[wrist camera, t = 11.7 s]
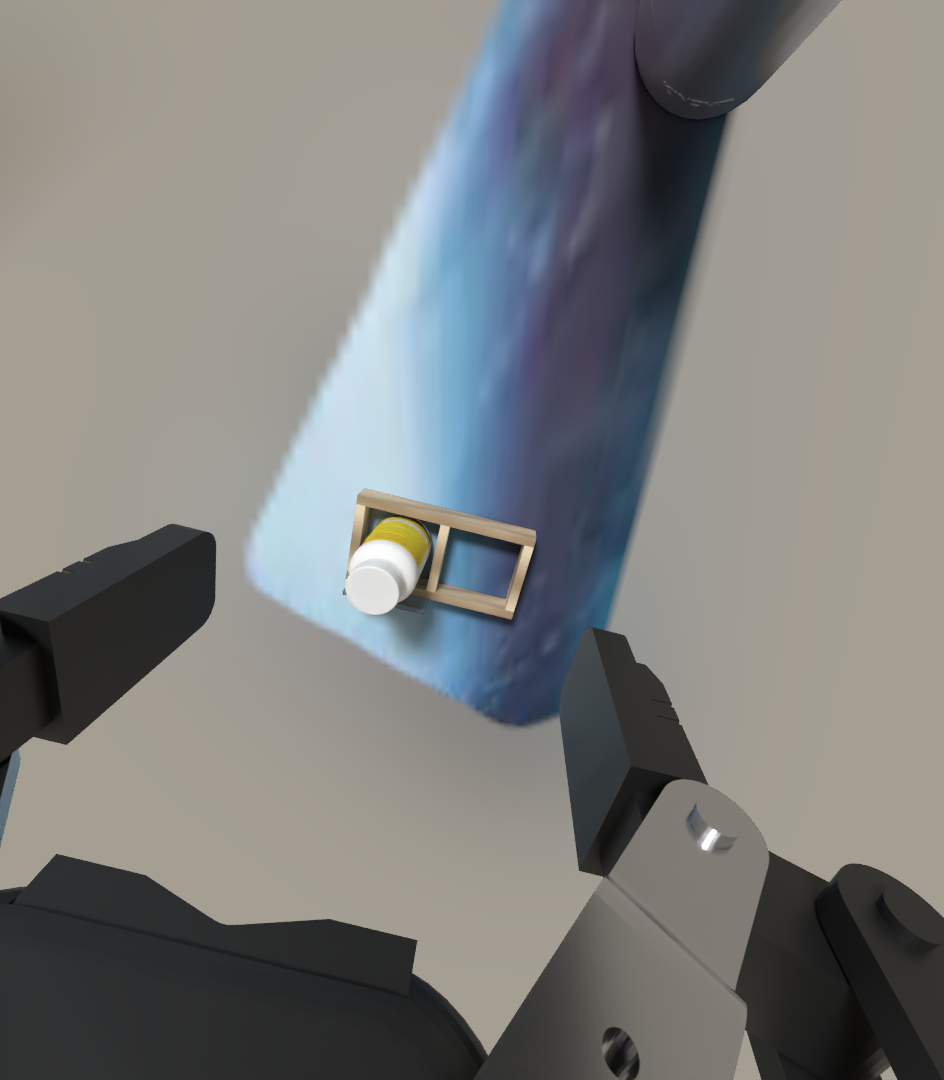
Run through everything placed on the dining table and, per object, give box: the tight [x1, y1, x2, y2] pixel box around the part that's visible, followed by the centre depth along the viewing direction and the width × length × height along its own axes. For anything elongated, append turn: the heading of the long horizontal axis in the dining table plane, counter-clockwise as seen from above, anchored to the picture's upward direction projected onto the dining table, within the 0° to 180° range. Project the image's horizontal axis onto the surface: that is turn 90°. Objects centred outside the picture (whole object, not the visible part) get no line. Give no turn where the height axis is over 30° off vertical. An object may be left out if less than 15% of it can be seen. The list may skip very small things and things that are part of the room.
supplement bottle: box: [345, 514, 432, 615], centre depth 38 cm, size 5×5×10 cm
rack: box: [343, 489, 536, 620], centre depth 41 cm, size 8×15×4 cm, turn 77°
